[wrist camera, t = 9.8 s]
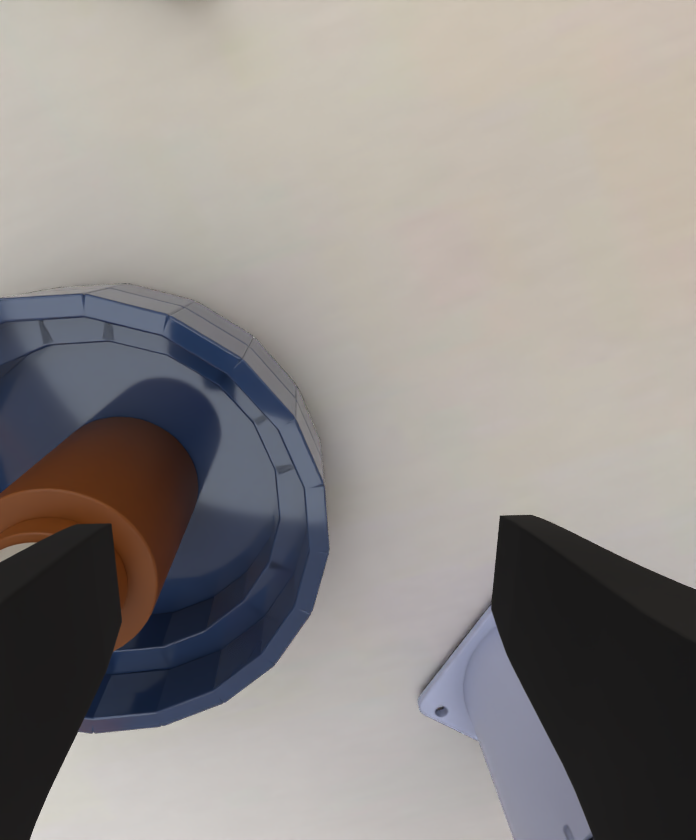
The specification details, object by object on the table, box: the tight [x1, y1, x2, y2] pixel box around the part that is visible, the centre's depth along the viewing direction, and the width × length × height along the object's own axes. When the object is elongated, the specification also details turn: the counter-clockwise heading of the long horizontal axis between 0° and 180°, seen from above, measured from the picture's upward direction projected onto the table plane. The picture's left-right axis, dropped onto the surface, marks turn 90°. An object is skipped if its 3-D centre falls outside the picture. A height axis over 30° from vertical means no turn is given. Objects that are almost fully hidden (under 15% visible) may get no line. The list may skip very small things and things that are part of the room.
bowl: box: [0, 283, 329, 734], centre depth 18 cm, size 13×13×4 cm
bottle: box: [0, 417, 198, 651], centre depth 16 cm, size 5×5×8 cm
